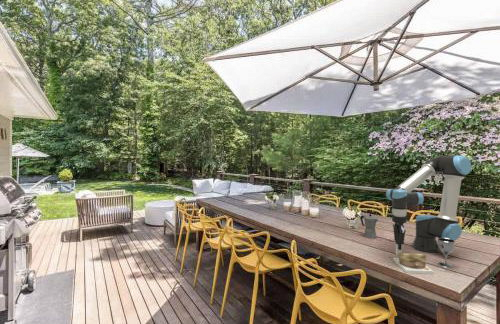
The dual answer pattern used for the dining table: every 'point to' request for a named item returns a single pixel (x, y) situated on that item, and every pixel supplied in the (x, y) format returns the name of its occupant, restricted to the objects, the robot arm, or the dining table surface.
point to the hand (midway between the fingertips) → (398, 254)
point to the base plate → (414, 270)
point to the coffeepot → (369, 226)
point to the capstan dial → (412, 260)
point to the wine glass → (446, 249)
